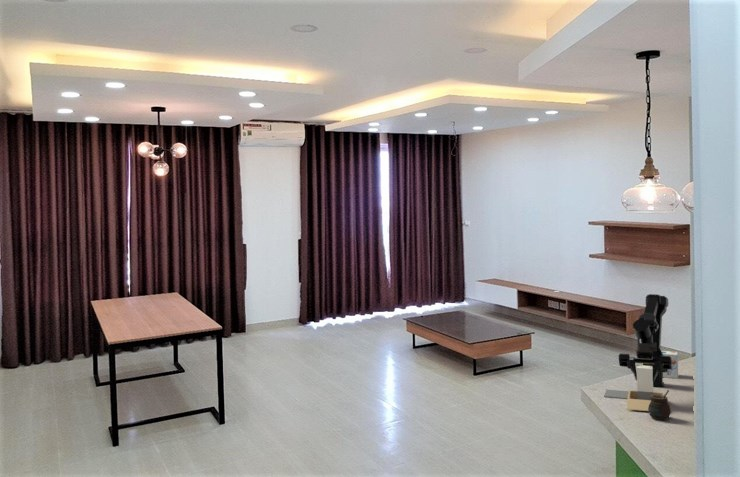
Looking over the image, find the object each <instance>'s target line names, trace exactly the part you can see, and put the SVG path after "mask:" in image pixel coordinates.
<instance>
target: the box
mask: <svg viewBox="0 0 740 477" xmlns="http://www.w3.org/2000/svg"><path fill="white" fill-rule="evenodd" d="M636 372H637V380H636V391H637V399H646V400H651V395H653V392H654V386H653V366H645V365H643V364H642V365H641V364H637V365H636Z"/></svg>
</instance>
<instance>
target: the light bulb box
mask: <svg viewBox="0 0 740 477" xmlns="http://www.w3.org/2000/svg"><path fill="white" fill-rule="evenodd" d="M661 351H662V353H663V355H664V356H670V357H671V363H672V369H668V372H665V373H664V372H663V378H666V379H667V378H668V379H678V378H679V354H678V353H679V352H678V351H672V350H671V351H670V350H661Z"/></svg>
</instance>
